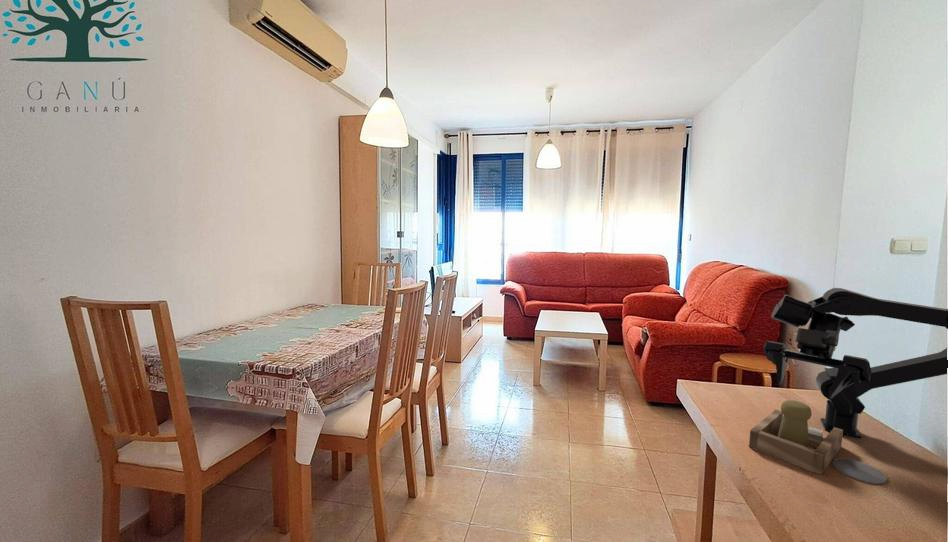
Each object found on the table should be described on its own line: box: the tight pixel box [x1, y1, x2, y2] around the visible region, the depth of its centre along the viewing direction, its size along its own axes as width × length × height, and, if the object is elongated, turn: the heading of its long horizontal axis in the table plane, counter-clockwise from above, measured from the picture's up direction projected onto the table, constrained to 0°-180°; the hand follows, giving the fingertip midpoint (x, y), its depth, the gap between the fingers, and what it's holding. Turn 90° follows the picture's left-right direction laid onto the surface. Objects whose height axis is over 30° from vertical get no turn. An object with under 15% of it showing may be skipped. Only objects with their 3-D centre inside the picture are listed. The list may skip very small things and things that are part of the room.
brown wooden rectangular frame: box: [748, 409, 844, 475], centre depth 87 cm, size 17×12×4 cm
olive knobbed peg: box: [777, 399, 813, 448], centre depth 85 cm, size 6×6×11 cm
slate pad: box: [832, 457, 887, 485], centre depth 78 cm, size 8×8×1 cm
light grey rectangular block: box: [808, 426, 826, 449], centre depth 90 cm, size 4×7×3 cm, turn 39°
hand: (803, 390), depth 88 cm, fingers open, 9 cm apart
